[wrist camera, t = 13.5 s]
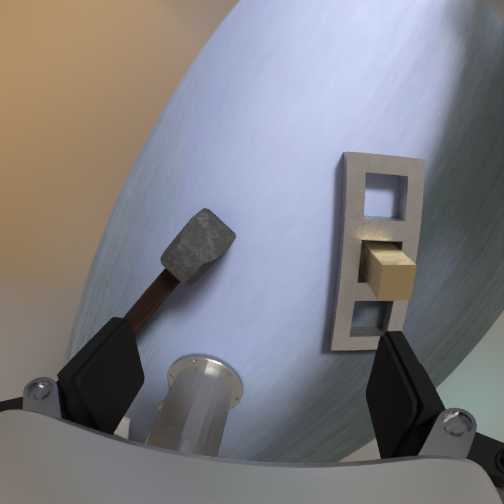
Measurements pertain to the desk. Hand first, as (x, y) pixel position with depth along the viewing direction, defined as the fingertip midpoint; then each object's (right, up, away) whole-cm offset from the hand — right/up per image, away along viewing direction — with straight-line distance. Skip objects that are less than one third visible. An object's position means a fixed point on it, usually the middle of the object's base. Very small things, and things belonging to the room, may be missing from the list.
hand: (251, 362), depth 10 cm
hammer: (-13, -1, +32) cm, 35 cm away
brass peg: (+16, +3, +27) cm, 32 cm away
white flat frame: (+16, +4, +27) cm, 32 cm away
